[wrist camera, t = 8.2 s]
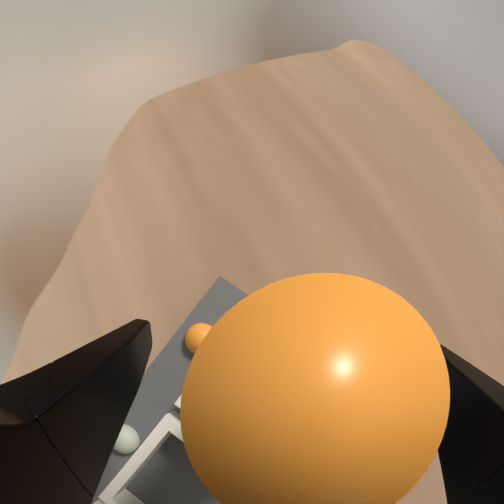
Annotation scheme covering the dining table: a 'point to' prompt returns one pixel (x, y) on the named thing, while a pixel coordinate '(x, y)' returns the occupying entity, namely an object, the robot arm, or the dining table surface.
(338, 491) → the plug
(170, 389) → the grey compartment tray
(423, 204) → the dining table surface
